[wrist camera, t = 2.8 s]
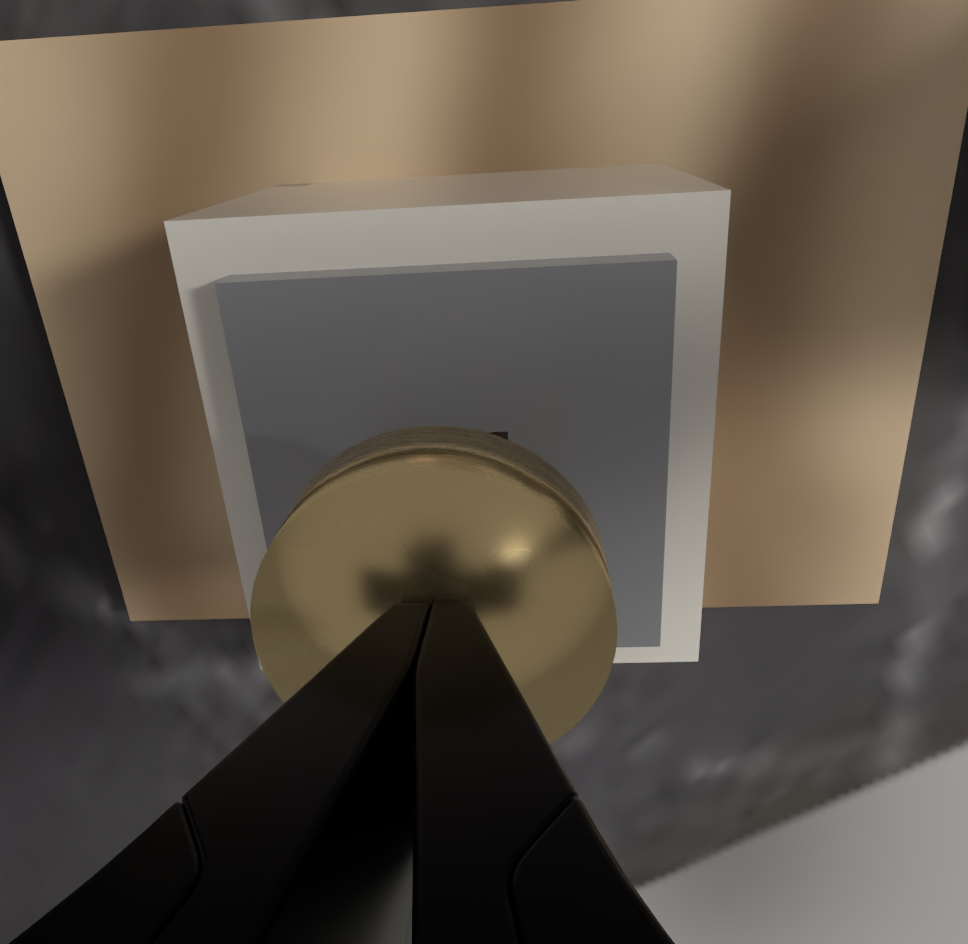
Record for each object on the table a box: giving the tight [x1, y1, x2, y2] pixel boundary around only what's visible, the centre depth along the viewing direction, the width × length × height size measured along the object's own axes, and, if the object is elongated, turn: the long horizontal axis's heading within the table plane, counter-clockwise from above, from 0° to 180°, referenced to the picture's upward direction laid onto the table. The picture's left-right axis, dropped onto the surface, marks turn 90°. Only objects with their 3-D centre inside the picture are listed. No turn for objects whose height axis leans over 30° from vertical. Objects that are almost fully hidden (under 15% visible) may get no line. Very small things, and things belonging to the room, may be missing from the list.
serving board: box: [0, 0, 968, 621], centre depth 19 cm, size 20×14×1 cm
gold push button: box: [250, 426, 618, 745], centre depth 12 cm, size 5×5×7 cm
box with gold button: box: [164, 163, 731, 670], centre depth 16 cm, size 8×10×7 cm
